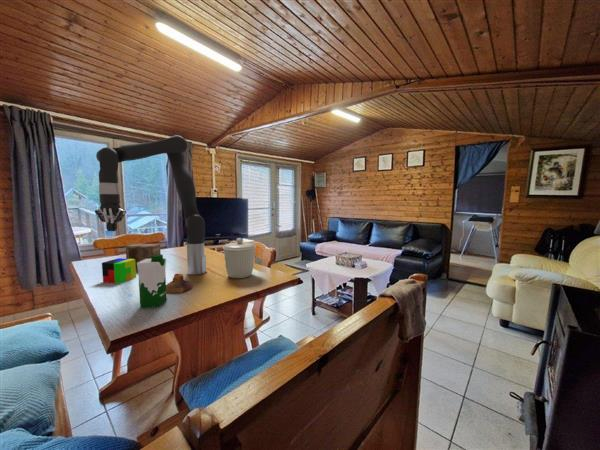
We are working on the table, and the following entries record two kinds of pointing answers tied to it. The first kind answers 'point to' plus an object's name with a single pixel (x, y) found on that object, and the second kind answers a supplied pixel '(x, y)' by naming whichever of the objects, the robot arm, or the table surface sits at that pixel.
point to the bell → (178, 285)
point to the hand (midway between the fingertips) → (111, 231)
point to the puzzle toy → (118, 270)
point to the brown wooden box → (142, 251)
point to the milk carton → (152, 281)
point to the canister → (239, 258)
